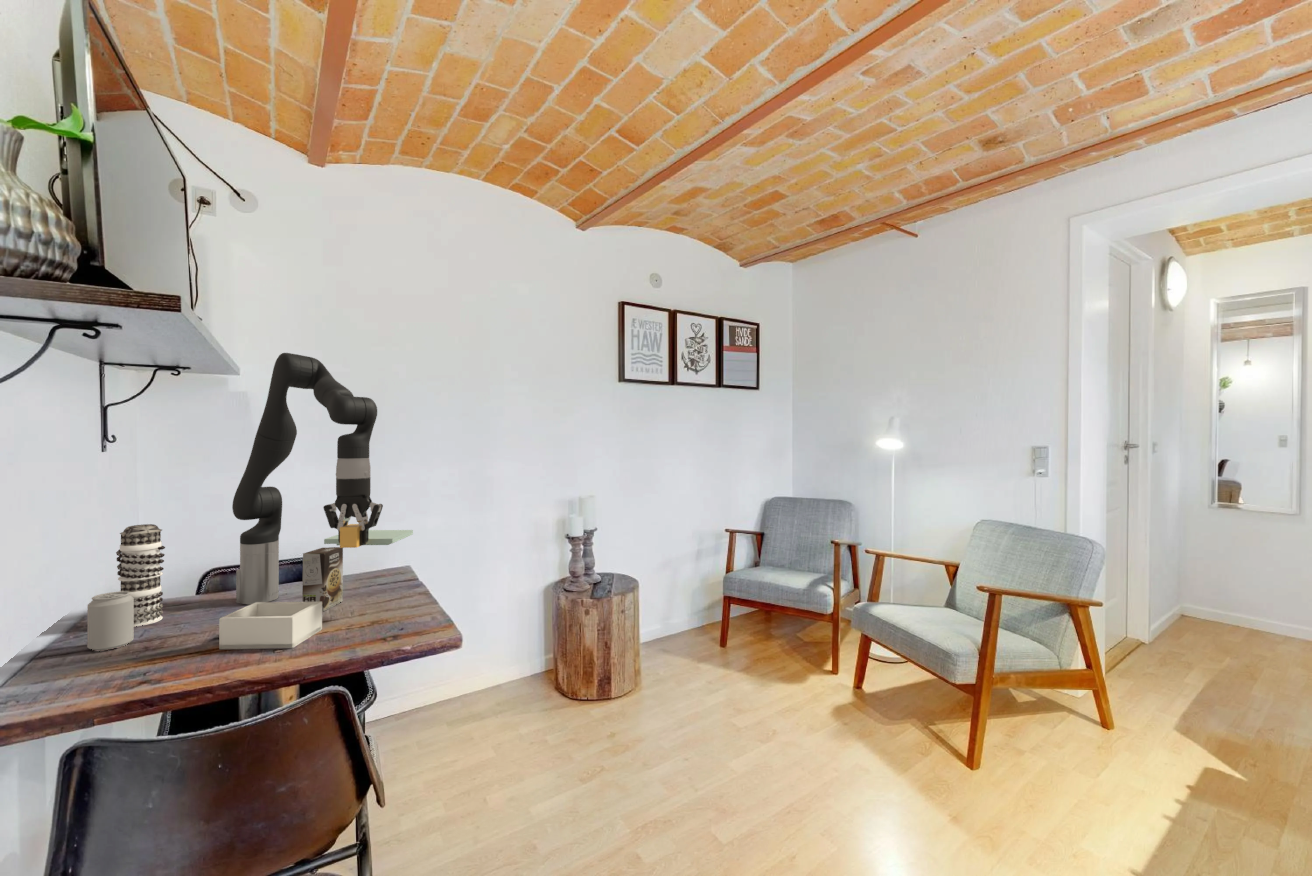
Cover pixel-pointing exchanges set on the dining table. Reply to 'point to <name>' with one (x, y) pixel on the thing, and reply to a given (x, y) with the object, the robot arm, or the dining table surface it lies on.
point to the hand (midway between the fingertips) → (353, 544)
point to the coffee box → (323, 576)
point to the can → (110, 620)
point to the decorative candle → (142, 571)
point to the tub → (270, 625)
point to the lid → (376, 537)
